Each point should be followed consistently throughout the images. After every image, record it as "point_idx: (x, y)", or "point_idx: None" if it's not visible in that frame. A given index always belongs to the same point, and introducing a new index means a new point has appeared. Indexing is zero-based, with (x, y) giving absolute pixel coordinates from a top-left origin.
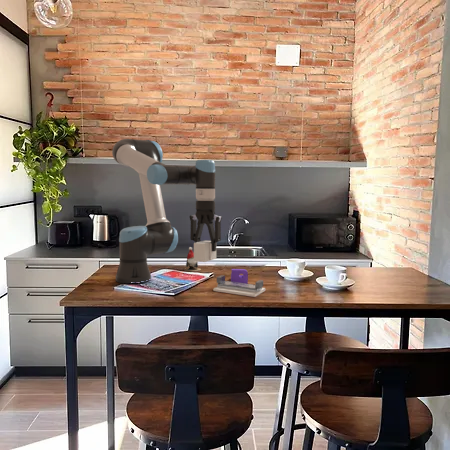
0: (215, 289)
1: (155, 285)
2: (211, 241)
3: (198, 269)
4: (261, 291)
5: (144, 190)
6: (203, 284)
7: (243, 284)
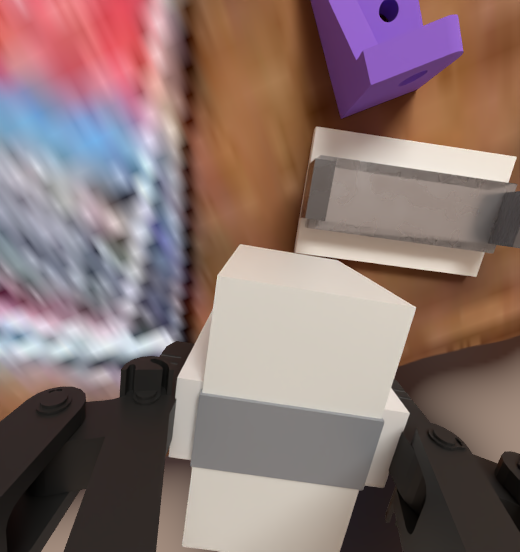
0: (303, 253)
1: (36, 260)
2: (402, 512)
3: None
4: None
5: None
6: (213, 160)
7: (428, 197)
